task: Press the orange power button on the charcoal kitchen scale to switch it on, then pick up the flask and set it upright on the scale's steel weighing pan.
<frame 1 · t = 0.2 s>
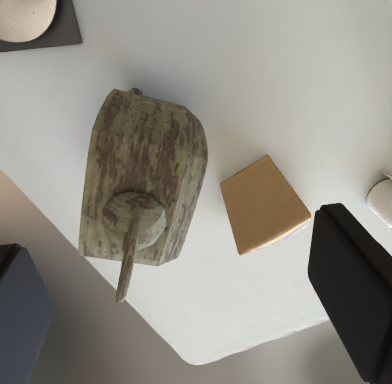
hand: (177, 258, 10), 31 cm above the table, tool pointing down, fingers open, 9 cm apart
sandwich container: (266, 205, 47), on the table
paper towel roll: (385, 190, 48), on the table
tabletop clock: (149, 138, 40), on the table
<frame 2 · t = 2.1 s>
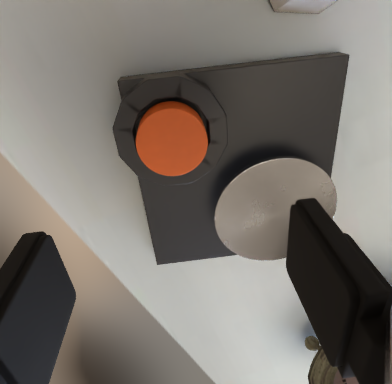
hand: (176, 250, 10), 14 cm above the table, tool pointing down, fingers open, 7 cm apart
tabletop clock: (349, 308, 35), on the table
weighing pan: (263, 192, 26), resting on scale
scale: (233, 169, 25), on the table
scale button: (172, 139, 19), point 4 cm above the table, slide at 0.1 cm
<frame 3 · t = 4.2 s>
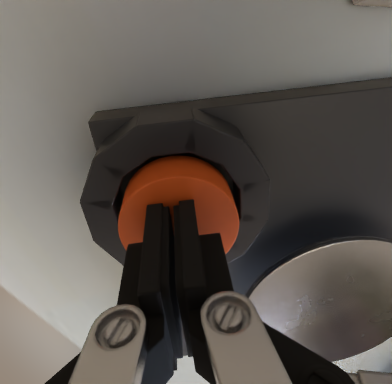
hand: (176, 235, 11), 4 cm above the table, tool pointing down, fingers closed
weighing pan: (307, 264, 18), resting on scale
scale: (267, 237, 17), on the table
scale button: (178, 216, 12), point 3 cm above the table, slide at -0.1 cm, touching gripper
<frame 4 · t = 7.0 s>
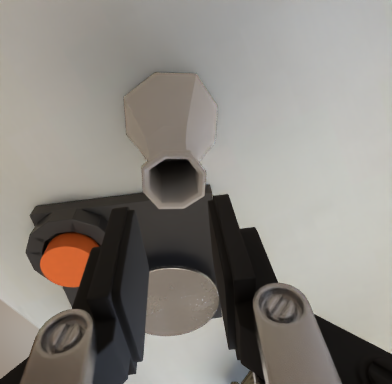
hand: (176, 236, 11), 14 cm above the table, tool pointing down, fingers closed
flask: (171, 119, 23), on the table
weighing pan: (169, 278, 32), resting on scale
scale: (140, 263, 30), on the table
scale button: (72, 260, 25), point 4 cm above the table, slide at 0.1 cm
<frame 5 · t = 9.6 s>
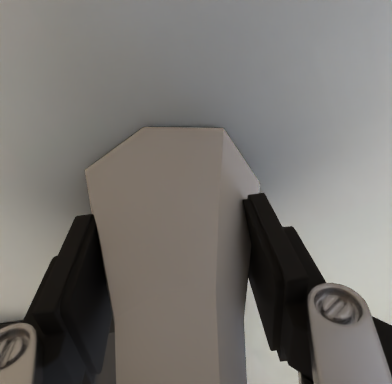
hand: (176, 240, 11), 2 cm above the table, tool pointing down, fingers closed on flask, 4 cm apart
flask: (175, 201, 13), on the table, touching gripper
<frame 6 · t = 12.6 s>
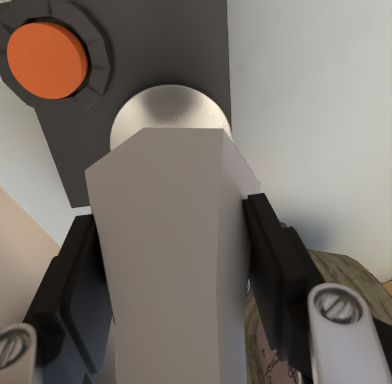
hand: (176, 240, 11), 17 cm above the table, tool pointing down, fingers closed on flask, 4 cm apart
flask: (175, 201, 13), point 14 cm above the table, touching gripper
tabletop clock: (280, 263, 36), on the table
weighing pan: (171, 132, 26), resting on scale
scale: (137, 107, 25), on the table
scale button: (49, 61, 20), point 4 cm above the table, slide at 0.1 cm
when the fingers open (6 cm above the table, at t = 15.6 s): flask stays where it is, resting on weighing pan.
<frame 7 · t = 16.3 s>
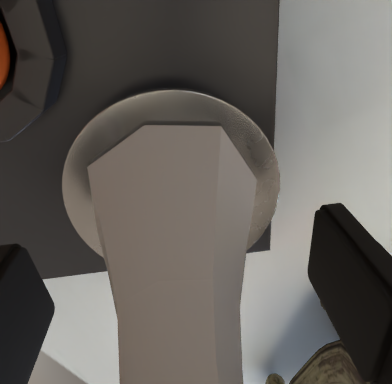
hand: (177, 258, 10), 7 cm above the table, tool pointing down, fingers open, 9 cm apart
flask: (174, 197, 13), point 3 cm above the table, touching weighing pan
tabletop clock: (325, 337, 26), on the table
weighing pan: (173, 166, 16), resting on scale
scale: (115, 127, 15), on the table
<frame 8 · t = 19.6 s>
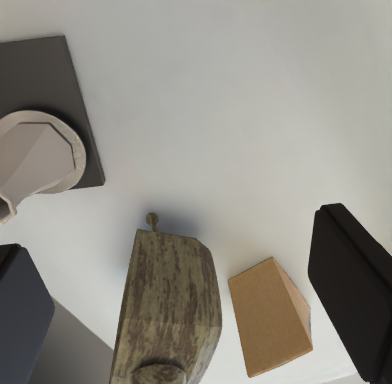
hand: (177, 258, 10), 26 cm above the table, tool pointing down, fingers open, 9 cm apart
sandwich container: (270, 294, 51), on the table
flask: (39, 154, 32), point 3 cm above the table, touching weighing pan
tabletop clock: (164, 247, 44), on the table
weighing pan: (49, 143, 35), resting on scale
scale: (19, 124, 33), on the table
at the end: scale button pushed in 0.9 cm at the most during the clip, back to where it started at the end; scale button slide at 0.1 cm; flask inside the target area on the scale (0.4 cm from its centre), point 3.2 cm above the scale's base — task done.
